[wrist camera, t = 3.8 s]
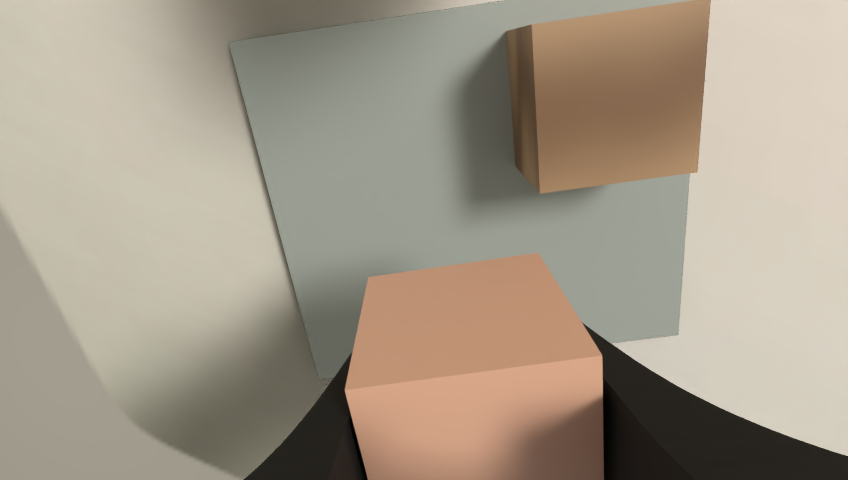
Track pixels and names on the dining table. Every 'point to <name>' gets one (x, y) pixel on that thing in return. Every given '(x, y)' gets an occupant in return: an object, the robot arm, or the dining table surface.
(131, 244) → the dining table surface
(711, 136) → the dining table surface
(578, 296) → the slate board
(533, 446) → the terracotta cube
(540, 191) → the walnut block
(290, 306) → the dining table surface
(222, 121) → the dining table surface
